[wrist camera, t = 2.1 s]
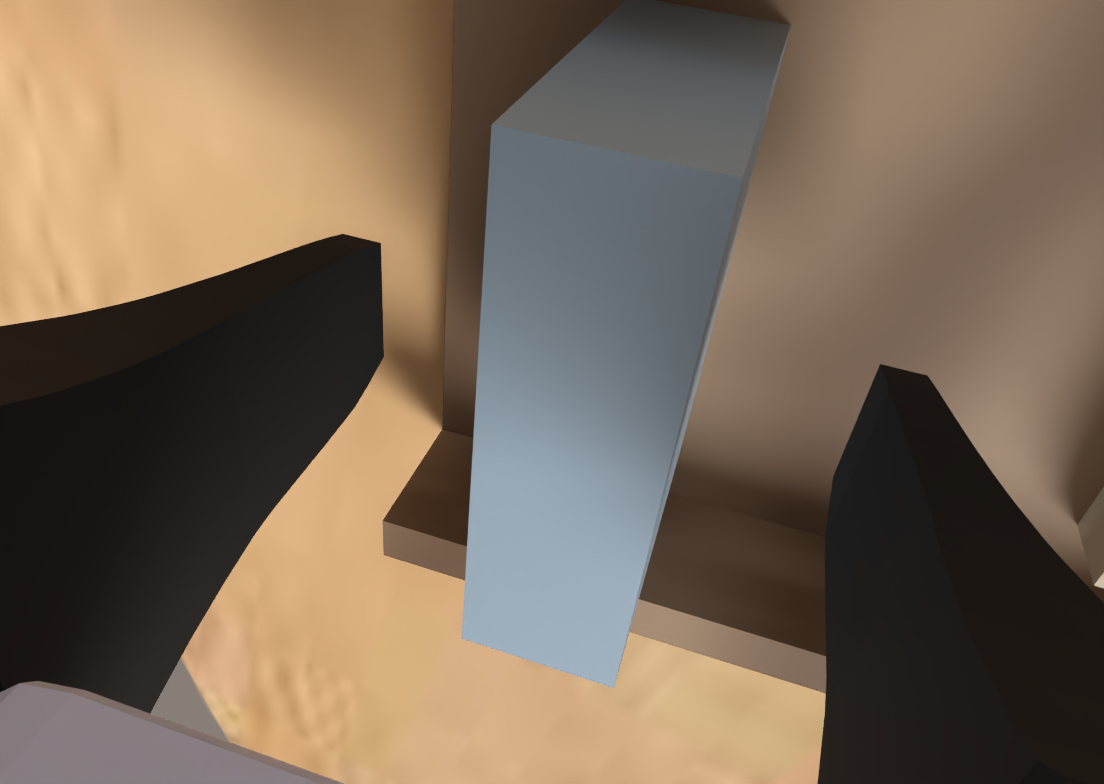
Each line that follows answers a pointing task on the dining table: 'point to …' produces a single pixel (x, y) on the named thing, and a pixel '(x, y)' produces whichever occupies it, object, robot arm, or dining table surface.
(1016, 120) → the rack
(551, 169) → the block
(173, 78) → the dining table surface
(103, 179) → the dining table surface
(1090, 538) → the offcut low
